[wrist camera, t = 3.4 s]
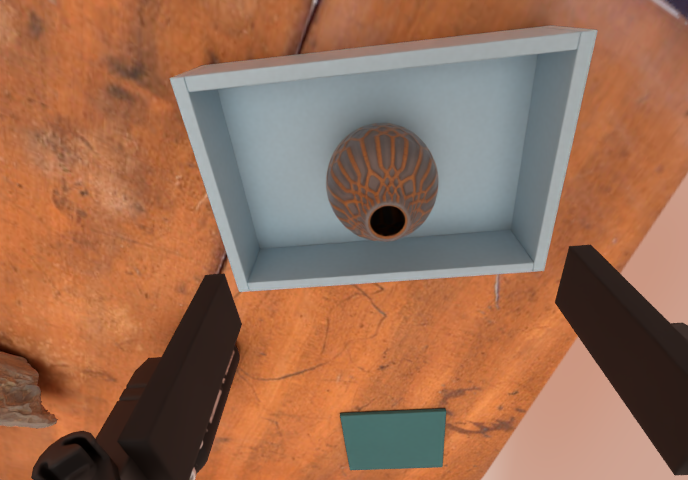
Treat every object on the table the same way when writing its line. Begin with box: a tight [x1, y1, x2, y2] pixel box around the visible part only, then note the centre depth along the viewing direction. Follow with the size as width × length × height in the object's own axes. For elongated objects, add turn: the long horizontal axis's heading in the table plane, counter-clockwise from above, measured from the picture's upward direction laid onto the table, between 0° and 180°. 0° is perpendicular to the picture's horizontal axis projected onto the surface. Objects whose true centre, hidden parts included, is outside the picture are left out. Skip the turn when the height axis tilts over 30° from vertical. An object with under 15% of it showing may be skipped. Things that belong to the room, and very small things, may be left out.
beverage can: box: [189, 346, 239, 480], centre depth 33 cm, size 7×7×12 cm
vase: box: [326, 123, 439, 242], centre depth 23 cm, size 7×7×9 cm
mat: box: [340, 408, 446, 470], centre depth 46 cm, size 12×12×1 cm
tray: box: [170, 25, 597, 292], centre depth 25 cm, size 22×15×5 cm
